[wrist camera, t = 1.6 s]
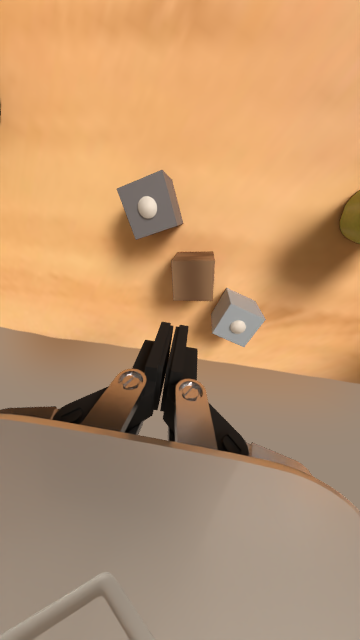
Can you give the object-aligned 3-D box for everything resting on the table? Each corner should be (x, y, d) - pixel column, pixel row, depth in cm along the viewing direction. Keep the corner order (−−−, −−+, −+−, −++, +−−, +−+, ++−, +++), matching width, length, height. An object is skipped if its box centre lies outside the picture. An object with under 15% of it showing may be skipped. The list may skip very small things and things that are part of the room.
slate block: (255, 301, 30) (266, 320, 24) (237, 325, 32) (244, 348, 27) (226, 287, 29) (231, 304, 24) (211, 313, 32) (212, 334, 26)
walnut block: (212, 251, 27) (214, 260, 22) (211, 285, 29) (212, 301, 24) (177, 252, 27) (171, 260, 22) (179, 285, 30) (173, 300, 25)
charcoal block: (171, 179, 23) (161, 169, 18) (183, 223, 26) (177, 225, 20) (135, 194, 25) (115, 188, 19) (149, 234, 27) (135, 239, 21)
